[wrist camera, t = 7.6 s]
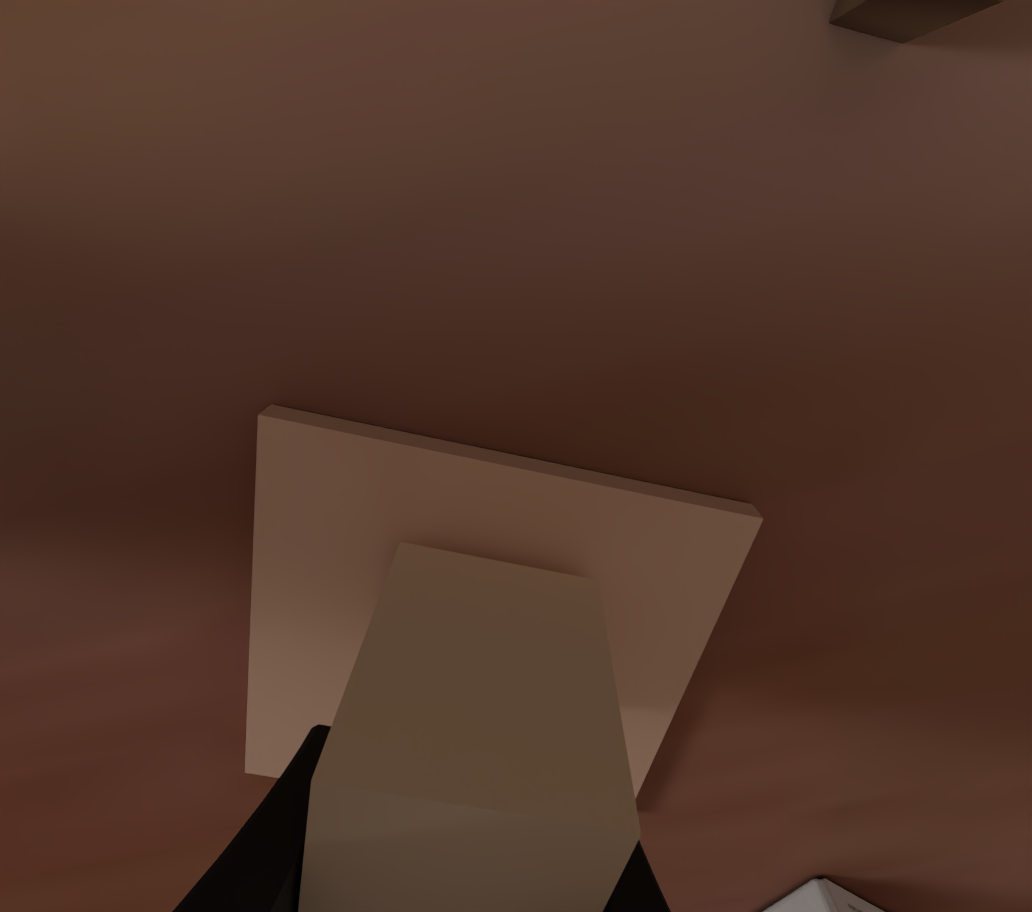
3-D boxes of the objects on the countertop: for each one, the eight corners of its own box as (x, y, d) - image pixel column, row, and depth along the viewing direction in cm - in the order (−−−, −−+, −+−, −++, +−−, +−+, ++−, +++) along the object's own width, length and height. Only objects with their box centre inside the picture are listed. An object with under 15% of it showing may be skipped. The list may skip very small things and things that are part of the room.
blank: (376, 687, 13) (293, 958, 8) (399, 541, 11) (311, 780, 7) (549, 718, 13) (560, 996, 9) (597, 580, 11) (641, 835, 7)
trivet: (254, 752, 15) (244, 772, 15) (271, 404, 11) (258, 414, 11) (616, 811, 16) (619, 832, 15) (752, 504, 12) (763, 518, 11)
